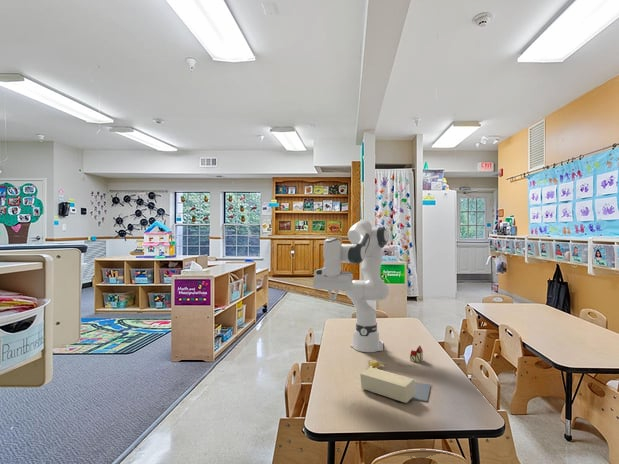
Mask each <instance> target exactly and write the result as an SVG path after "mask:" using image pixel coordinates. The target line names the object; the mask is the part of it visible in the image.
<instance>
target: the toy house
mask: <svg viewBox="0 0 619 464" xmlns="http://www.w3.org/2000/svg"><path fill="white" fill-rule="evenodd" d="M409 357H410V358H409V359H410V362H413V363H414V362H415V363H420V364H422V362H423V361H424V351H423V348H422V346H421V345H418V346H417V348H416V350H413V349H412V350H411V351H410V355H409Z"/></svg>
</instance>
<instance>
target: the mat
mask: <svg viewBox="0 0 619 464" xmlns="http://www.w3.org/2000/svg"><path fill="white" fill-rule="evenodd" d="M414 383H415V395H414V396H413V397H412V398H411V399H410V400H412V401H413V400H414V401H418V402H424V403H428V401H429V395H430V392H431V391H430V390H431V387H432V384H430V383H423V382H418V381H414ZM369 392H370V393H374V392H371V391H369Z"/></svg>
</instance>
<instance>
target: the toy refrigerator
mask: <svg viewBox="0 0 619 464" xmlns="http://www.w3.org/2000/svg"><path fill="white" fill-rule="evenodd" d="M376 368H377V367H376ZM376 368H372V367H370V366H368V368H366V369H365V370H363V371H362V372H361V373H360V385H361V386H360V387H361V389H362V390H366V391H368V392H370V391H371V392H370V393H373V392H374V393H375V394H378V395H381V396H384V397H386V398H390V399H392V400H395V401H399V402H401V403H405V404H407V403H408V402H409V401H410V400H412V399H411V398H412V397H413V396H414V395H415V383H414V382H415V379H414V378H411V377H407V376H406V375H405V376H404V375H401V374H397V373H394V372H389V371H386V370H382V369H379V368H378V369H376Z"/></svg>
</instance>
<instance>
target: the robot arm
mask: <svg viewBox="0 0 619 464" xmlns="http://www.w3.org/2000/svg"><path fill="white" fill-rule="evenodd" d="M388 231H389V230H388V229H387V228H385V227H381V226H379V227H373V225H372V224H371V222H370V221H368V220H366V219H363V220H359V221H357V222H356V223H354V224H353V225H352V226H351V227H350V228H349V229H348V232H347V239H348V240H349V242H350V243H341V241H340V238H338V237H329V238H326V239H324V242H323V248H322V252H323V253H322V254H323V255H322V256H323V267H320V268H319V269H316V270H314V273H313V274H314V276H313V279H312V287H313V289H315V290H324V291H325V290H327V293H328V295H329V299H331V300H336V299H337V295H338V293H339V292H340V291H343V292H344V293H345V295H346V297H348V299H349V300H351V302H352V304H353V305H354V308H355V314H356V323H355V331H354V332H353V337H352V338H353V341H352V343H351V344H350V347H351V348H353V349H354V350H356V351H358V352H363V353H375V352H381V351H384V341H383V340H381V339H380V332H378V322H377V311H376V309H375V308H374V307H373V306H371V305H370V304H369V303H368V301H375V302H378V301H385V300H386V299H387V298H388V296H389V294H390V289H389V286H388V285H387V283H386V282H385V281H383V280H382V277H381V266H382V261H383V250H382V249H383V248H384V247H385V246H386V245H387V243H388V241H389V239H390V238H389V232H388ZM342 263H344V264H348V263H349V264H356V265H359V264H360V263H361V267H360V272H361V274H362V275H363V276H364V277H365V278H367V280H362V279H359V280H358V279H354V274H353V273H352V272H350V271H349V270H347V271H345V270H344V271H343V270H342ZM353 279H354V280H353ZM332 291H334V294H333V293H332Z"/></svg>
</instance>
